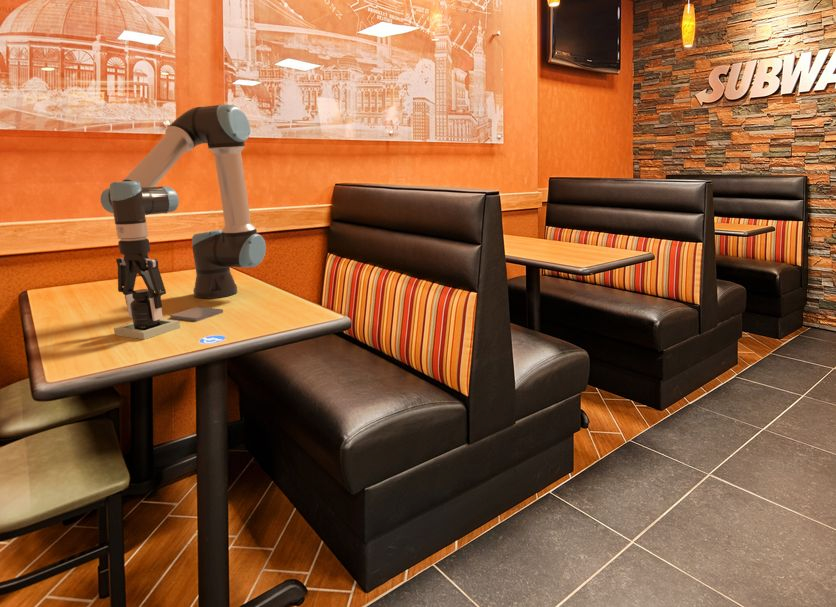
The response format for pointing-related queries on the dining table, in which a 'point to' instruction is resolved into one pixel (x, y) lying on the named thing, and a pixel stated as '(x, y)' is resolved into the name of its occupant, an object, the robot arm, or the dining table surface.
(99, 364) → the dining table surface
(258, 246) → the robot arm
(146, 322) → the supplement bottle
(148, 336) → the frame
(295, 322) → the dining table surface
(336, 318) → the dining table surface
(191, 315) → the slate coaster
